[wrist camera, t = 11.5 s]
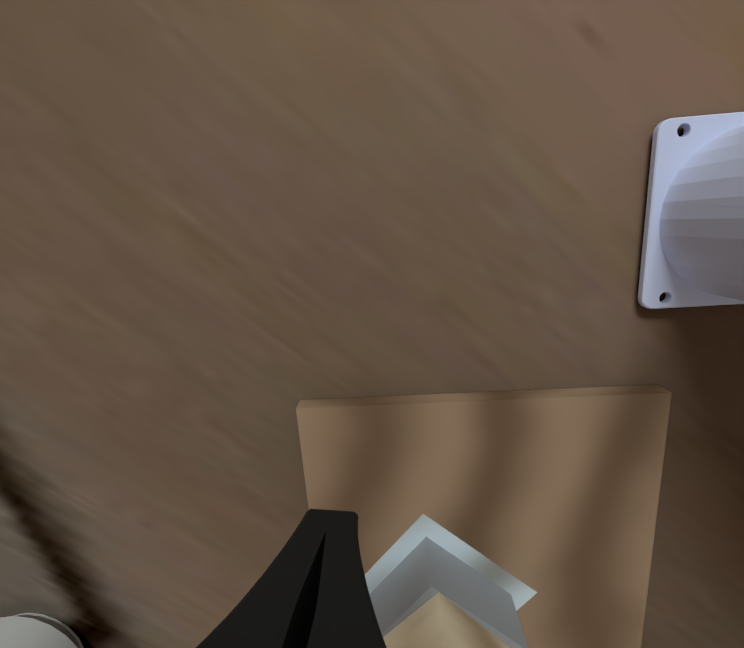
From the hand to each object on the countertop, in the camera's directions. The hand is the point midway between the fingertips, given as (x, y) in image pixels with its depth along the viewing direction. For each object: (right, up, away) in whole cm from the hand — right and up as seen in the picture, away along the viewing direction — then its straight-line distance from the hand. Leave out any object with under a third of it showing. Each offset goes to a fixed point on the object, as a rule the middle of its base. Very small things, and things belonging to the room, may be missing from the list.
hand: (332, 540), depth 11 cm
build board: (+7, -6, +11) cm, 15 cm away
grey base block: (+5, -9, +11) cm, 16 cm away
